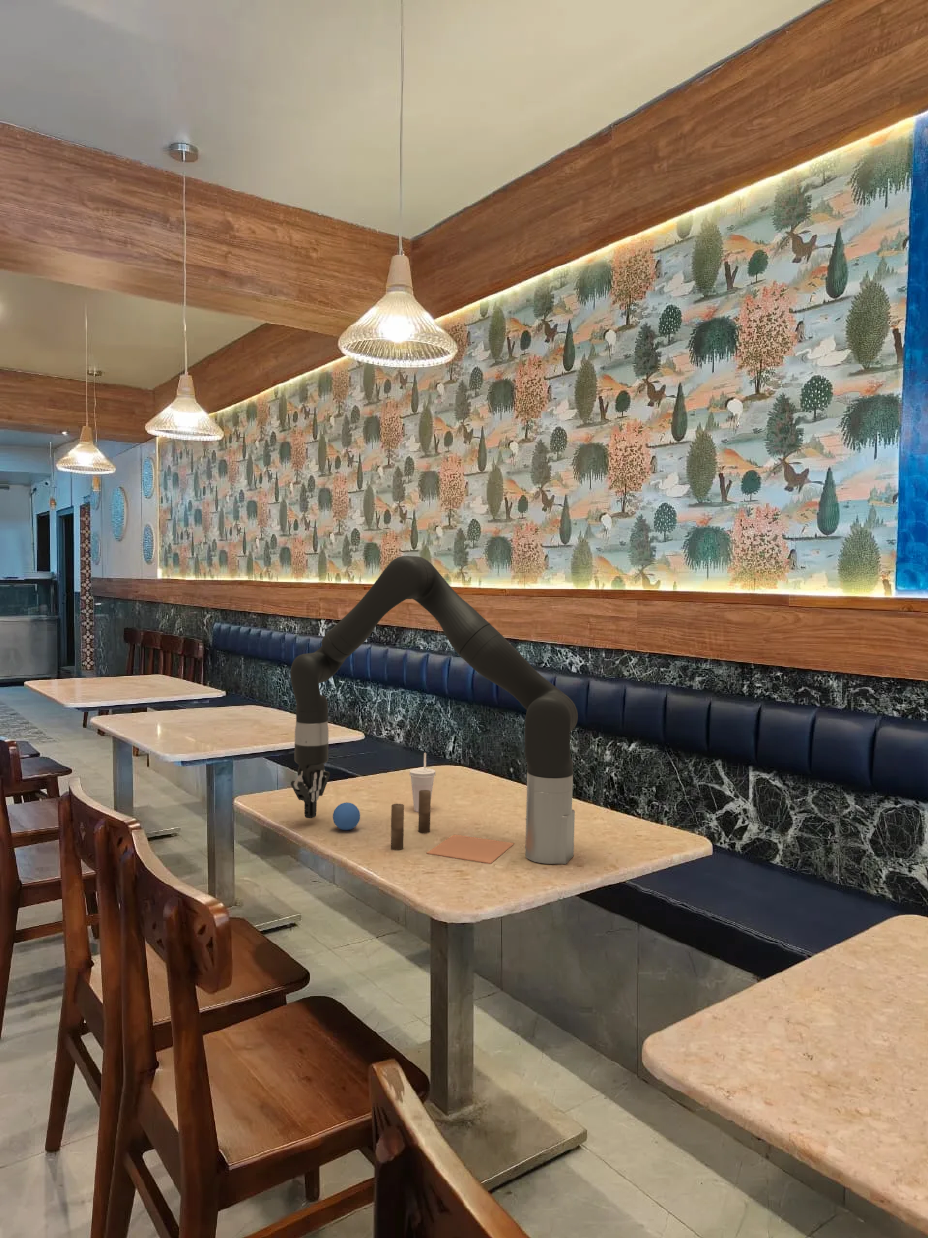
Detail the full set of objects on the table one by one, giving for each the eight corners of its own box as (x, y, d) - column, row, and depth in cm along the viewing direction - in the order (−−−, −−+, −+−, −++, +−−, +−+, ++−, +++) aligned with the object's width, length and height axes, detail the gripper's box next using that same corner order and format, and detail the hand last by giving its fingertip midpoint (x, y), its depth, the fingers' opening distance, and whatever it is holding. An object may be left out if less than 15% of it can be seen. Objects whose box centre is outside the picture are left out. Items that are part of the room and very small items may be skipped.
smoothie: (431, 814, 202) (432, 756, 202) (405, 812, 204) (406, 754, 203) (437, 807, 208) (438, 751, 208) (412, 806, 210) (413, 749, 209)
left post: (405, 847, 177) (406, 804, 177) (399, 851, 175) (400, 807, 174) (394, 845, 178) (395, 803, 178) (388, 849, 176) (389, 806, 176)
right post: (431, 830, 189) (432, 790, 189) (426, 834, 187) (427, 793, 187) (421, 829, 190) (422, 789, 190) (416, 832, 188) (417, 792, 188)
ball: (364, 828, 190) (365, 801, 190) (351, 835, 185) (351, 807, 185) (341, 824, 193) (342, 798, 192) (327, 831, 187) (327, 804, 187)
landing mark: (514, 844, 181) (514, 843, 181) (490, 864, 168) (490, 863, 168) (453, 835, 186) (453, 834, 186) (426, 853, 174) (426, 852, 173)
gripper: (309, 748, 184) (308, 827, 185) (341, 738, 196) (340, 812, 197) (280, 744, 187) (279, 822, 188) (313, 735, 199) (312, 808, 200)
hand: (310, 817), depth 192 cm, fingers closed
